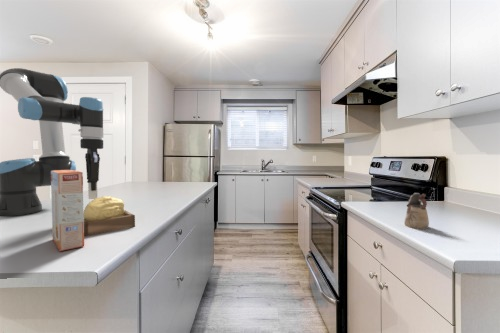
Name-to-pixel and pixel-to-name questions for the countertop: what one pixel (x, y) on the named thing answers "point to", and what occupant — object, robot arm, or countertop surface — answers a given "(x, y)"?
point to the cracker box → (67, 209)
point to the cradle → (109, 224)
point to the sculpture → (103, 209)
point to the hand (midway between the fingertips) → (92, 198)
